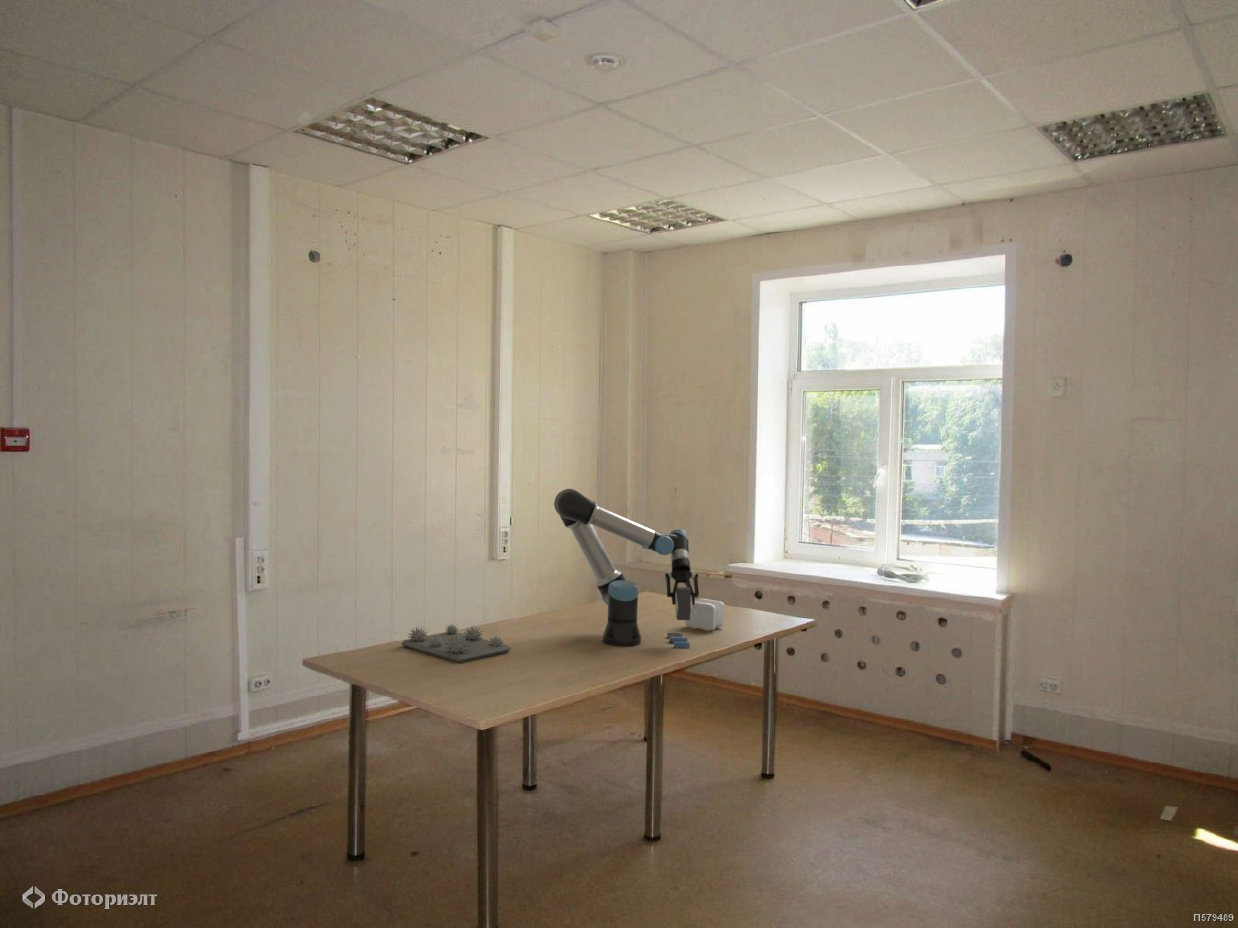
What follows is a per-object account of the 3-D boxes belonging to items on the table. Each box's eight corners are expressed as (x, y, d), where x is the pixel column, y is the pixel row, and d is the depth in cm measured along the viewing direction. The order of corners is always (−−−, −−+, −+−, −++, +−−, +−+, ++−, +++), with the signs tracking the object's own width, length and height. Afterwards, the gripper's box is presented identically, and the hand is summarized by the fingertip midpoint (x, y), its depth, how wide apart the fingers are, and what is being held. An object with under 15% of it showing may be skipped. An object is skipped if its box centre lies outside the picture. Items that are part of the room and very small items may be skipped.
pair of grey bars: (669, 642, 329) (669, 637, 329) (667, 637, 338) (667, 632, 338) (684, 642, 329) (684, 637, 329) (682, 637, 338) (682, 632, 338)
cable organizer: (726, 629, 357) (726, 602, 357) (712, 632, 349) (713, 605, 349) (697, 623, 367) (698, 597, 367) (683, 627, 359) (684, 600, 359)
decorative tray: (512, 653, 305) (513, 627, 305) (456, 666, 285) (456, 637, 285) (453, 637, 328) (454, 612, 328) (397, 648, 308) (398, 621, 308)
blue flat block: (674, 647, 320) (674, 642, 320) (671, 642, 329) (672, 637, 329) (689, 647, 320) (689, 642, 320) (686, 642, 329) (687, 637, 329)
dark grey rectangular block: (677, 620, 322) (677, 589, 322) (675, 617, 327) (676, 587, 327) (690, 620, 322) (690, 589, 322) (688, 617, 327) (689, 587, 327)
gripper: (701, 568, 340) (706, 616, 324) (657, 568, 339) (660, 616, 323) (703, 557, 335) (708, 605, 318) (659, 556, 334) (661, 605, 318)
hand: (684, 610), depth 321 cm, fingers closed on dark grey rectangular block, 5 cm apart
